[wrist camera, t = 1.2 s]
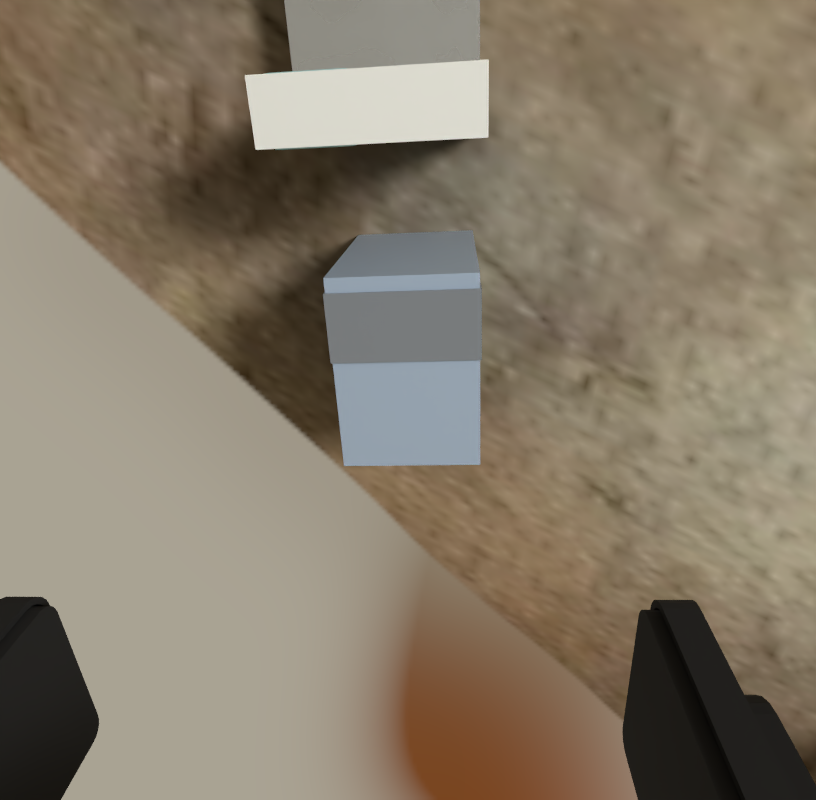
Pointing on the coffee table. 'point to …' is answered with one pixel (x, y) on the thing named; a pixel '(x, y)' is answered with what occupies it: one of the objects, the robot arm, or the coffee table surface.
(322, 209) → the coffee table surface
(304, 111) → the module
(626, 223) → the coffee table surface
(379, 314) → the block
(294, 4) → the rail
